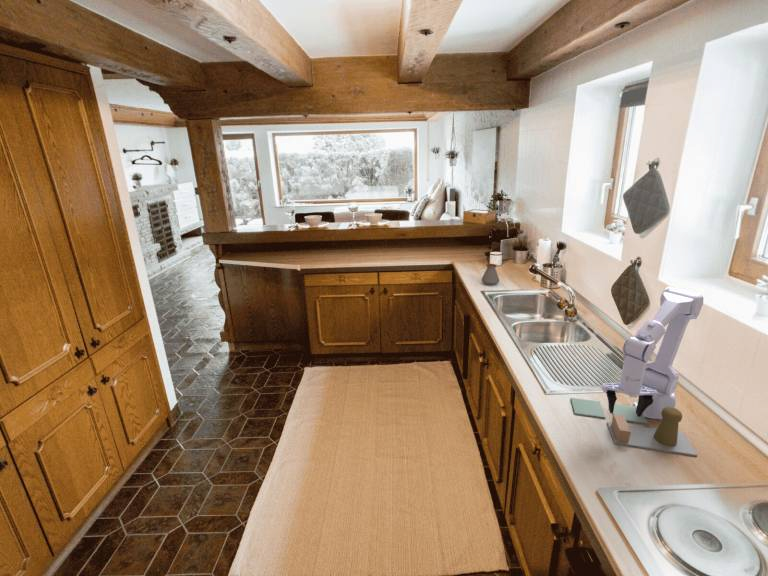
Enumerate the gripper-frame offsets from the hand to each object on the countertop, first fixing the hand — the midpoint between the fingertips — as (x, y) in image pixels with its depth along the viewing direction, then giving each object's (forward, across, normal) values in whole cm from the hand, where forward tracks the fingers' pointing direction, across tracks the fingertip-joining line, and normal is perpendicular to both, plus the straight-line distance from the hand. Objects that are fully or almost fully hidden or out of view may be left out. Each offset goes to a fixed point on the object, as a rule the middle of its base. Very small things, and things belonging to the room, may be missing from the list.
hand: (624, 412), depth 126 cm
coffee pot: (+9, -44, +144) cm, 151 cm away
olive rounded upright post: (+8, +13, 0) cm, 15 cm away
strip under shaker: (+8, +8, 0) cm, 12 cm away
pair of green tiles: (+8, -1, +12) cm, 15 cm away
